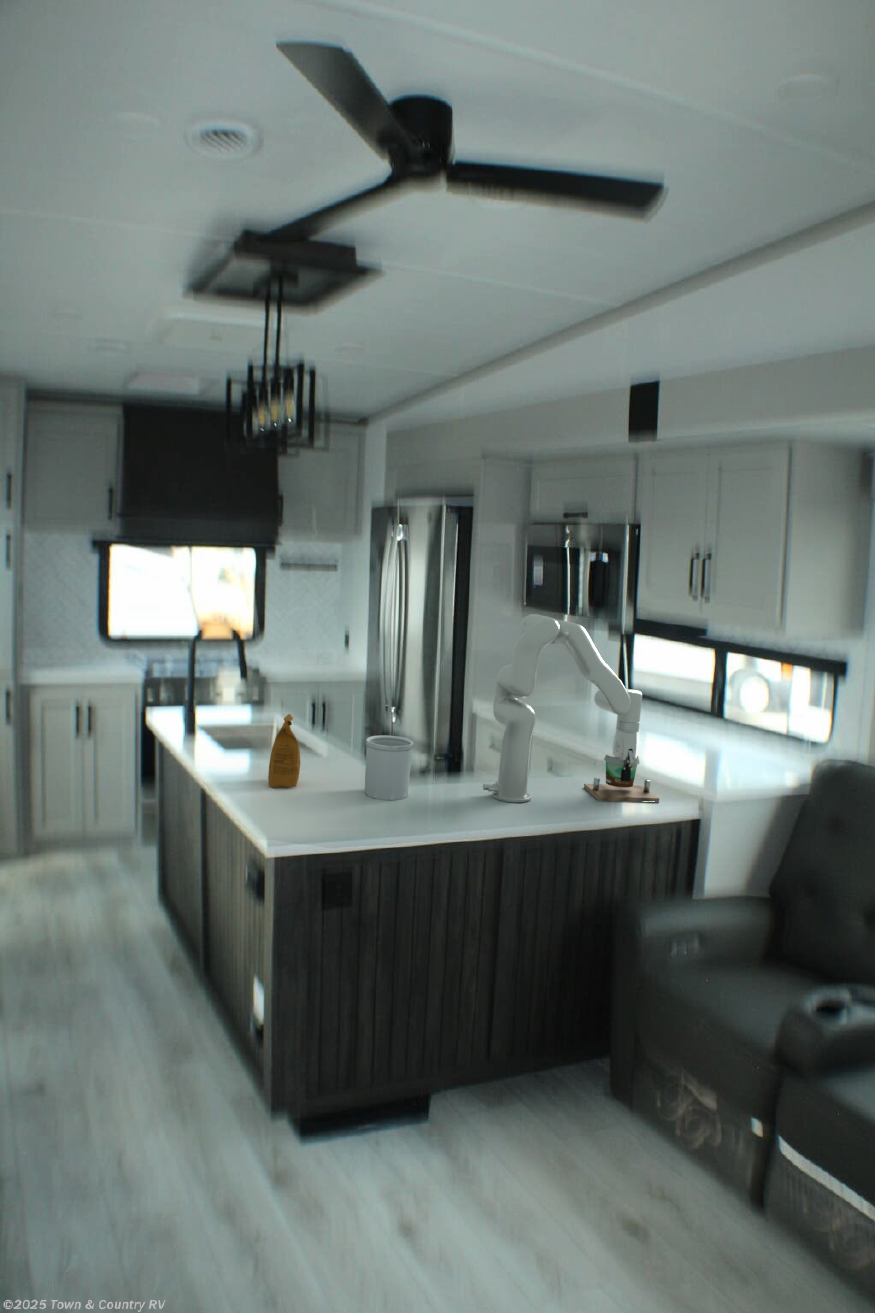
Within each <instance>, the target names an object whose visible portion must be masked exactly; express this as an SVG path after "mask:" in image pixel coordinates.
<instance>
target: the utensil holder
mask: <svg viewBox="0 0 875 1313" xmlns="http://www.w3.org/2000/svg"><path fill="white" fill-rule="evenodd" d="M365 744H366V751H365V752H366V754H365V757H366V758H365V768H364V769H365V770H364V772H365V775H364V794H365V795H366V796H368V797H369V798H372V799H376V800H383V801H398V800H403V799H406V798H407V797H408V795H409V786H410V778H411V777H410V776H411V765H412V753H413V748H414V745H415V744H414V741H413V740H412V739H410V738H407V737H403V736H399V735H398V736H397V735H389V734H387V735H386V734H385V735H371V736H369V737H367V738H366V740H365Z"/></svg>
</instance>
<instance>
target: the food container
mask: <svg viewBox="0 0 875 1313" xmlns="http://www.w3.org/2000/svg"><path fill="white" fill-rule="evenodd" d="M603 760H604V761H605V784H608V785H611V786H616V787H632V786H633V785H634V783H635V778H636V774H637V773H636V772H637V767H638V765H640V757H639V756H638V755H636V757H635V760H634V764H633V766H632V770H631V777H630V781H629V782H628V781H621V771H622V769H623V765H624V760H623V761H620V760H619V758H617V757H615V756H613V755H612V756H611V755H610V754H605V755H604V759H603ZM625 760H629V759H625ZM625 763H626V764H627V763H628V762H625Z"/></svg>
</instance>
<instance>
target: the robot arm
mask: <svg viewBox="0 0 875 1313" xmlns="http://www.w3.org/2000/svg"><path fill="white" fill-rule="evenodd" d="M520 630H521V633H522V634H521V635H520V637H518V639H517V641H516V643H515V645H514V647H513V651H512V657H511V663H510V664H507V665H504V666H502V668H501V669H500V670H499V672H498V674H497V676H496V680H495V686H494V687H495V688H494V697H493V706H492V712H493V713H492V714H493V716H494V719H495V720H496V722H498V723H499V724H500V725H502V726H504V727H505V729H504V731H503V735H502V737H501V744H500V754H499V755H500V756H499V767H498V777H497V778H498V780H497V781H495V783H492V784H489V783H483V784H482V789H483V791H488V792H492V794H491V796H492V797H493V799H495V800H499V801H503V802H507V803H517V804H518V803H526V802H530V801H531V800H532V795H531V794H530V793H528V783H529V782H528V781H529V780H528V779H529V772H530V770H529V769H530V758H531V750H532V749H531V748H532V738H533V733H534V731H535V725H536V722H537V720H536V719H537V717H536V716H537V715H536V713H535V710H534V708H533V707H532V706H531V705H529V704H528V703H526V702H524V701H522V700H521V699H522V698H523V699H525V698H530V697H531V696H532V695H534V693H535V691H536V686H537V676H538V670H539V661H540V656H541V655H542V652H543V650H544V649H545V648H546V647H547V646H548V645H554V646H559V647H563V648H565V649H566V650H567V652H568V654H569V656H570V658H571V660H572V661H573V663H574V665H575V667H576V669H577V670H578V672H579V674H581V675H582V676H583V677H584V678H585V679H586V680H588V681H589V682H591V683H592V684H593V685H594V686H596V687H597V689H598V690H597V691H596V693H594V697H593V698H594V703H595V705H596V706H597V707H598V708H599V709H601V710H603V711H606V712H610V713H612V714H614V715H617V716H616V724H615V725H616V726H615V727H616V728H615V729H616V731H615V736H614V738H613V739H614V741H613V746H612V756H613V757H617V758H619V760H620V761H623V760H624V765H623V769H622V771H621V781H628V782H629V781H630V777H631V770H632V766H633V764H634V760H635V758H636V757H637V755H636V754H637V743H638V742H637V738H638V737H637V736H638V733H639V731H640V721H641V711H642V701H643V693H642V692H641V691H640V690H637V689H630V688H626V687H625V685H624V684H623V682H622V680H621V679H620V678H619V677H618V676H617V674H616V673H615V672H614V671H613V670H612V669H611V667H610V666H609V665H608V664H607V663H606V662H605V661H604V659H603V658H602V656H601V655H600V652H599V651H598V649H597V648H596V645H595V644H594V642H593V640H592V638H591V636H590V635H589V633H588V632H587V630H586V629H585V627H583V625H581V624H578V623H575V622H571V621H567V620H561V619H556V618H553V617H551V616H546V615H541V614H537V613H531V614H528V615H526V616H525V617H524V618H523V619H522V621H521V623H520ZM625 759H629V760H625ZM625 762H628V763H627V764H626V763H625Z"/></svg>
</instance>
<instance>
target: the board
mask: <svg viewBox="0 0 875 1313" xmlns="http://www.w3.org/2000/svg"><path fill="white" fill-rule="evenodd" d="M600 781H601V778H600V777H593V783H584V784H583V789H584V790H585V791H587V792H588V793H589V794H590V795H592V797H594V798H595V800H597V801H599V802H623V801H655V802H659V803H660V797H658V796H657V795H655V794H654V793H653V792H651V791H650V790H651V789H650V788H651V782H652V781H651V780H650V779H644V781H643V783H644V784H643V785H634V784H633V786H632V787H616V786H611V785H608V784H606V783H605V784H604V783H603V784H602V783H601V782H600Z"/></svg>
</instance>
